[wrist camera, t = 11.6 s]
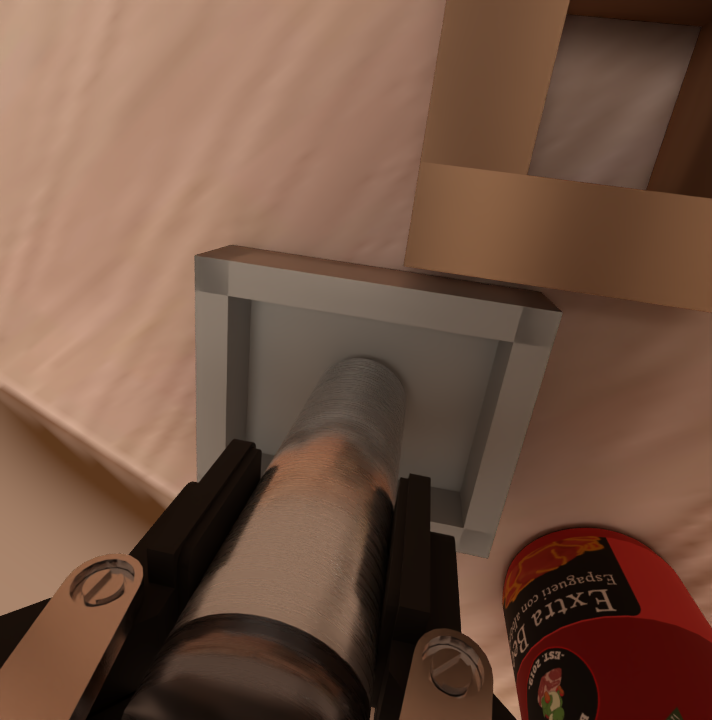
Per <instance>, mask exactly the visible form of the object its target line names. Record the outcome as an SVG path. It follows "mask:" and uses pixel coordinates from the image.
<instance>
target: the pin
mask: <svg viewBox="0 0 712 720" xmlns="http://www.w3.org/2000/svg"><path fill="white" fill-rule="evenodd" d="M406 406H407V400H406V394H405V390H404V388H403V386H402V384H401V382H400V380H399V379H398V377H397V376H396V375H395V374H394V373H393V372H392V371H391V370H390V369H388V368H387V367H385V366H384V365H382V364H380V363H378V362H375V361H373V360H369V359H362V358H353V359H347V360H343V361H340V362H338V363H336V364H334V365H332V366H331V367H330V368H328V369H327V370H326V371H325V372H324V373H323V375H322V376H321V378H320V379H319V381H318V383H317V384H316V386H315V388H314V390H313V391H312V393H311V395H310V396H309V398H308V400H307V401H306V403H305V405H304V407H303V408H302V410H301V412H300V413H299V415H298V417H297V418H296V420H295V422H294V423H293V425H292V427H291V429H290V430H289V432H288V434H287V435H286V437H285V439H284V440H283V442H282V444H281V446H280V447H279V449H278V451H277V452H276V454H275V456H274V457H273V459H272V461H271V462H270V464H269V466H268V468H267V469H266V471H265V473H264V474H263V476H262V478H261V479H260V481H259V483H258V485H257V486H256V488H255V490H254V491H253V493H252V495H251V496H250V498H249V500H248V501H247V503H246V505H245V507H244V508H243V510H242V512H241V513H240V515H239V517H238V518H237V520H236V522H235V524H234V525H233V527H232V529H231V530H230V532H229V534H228V535H227V537H226V539H225V540H224V542H223V544H222V546H221V547H220V549H219V551H218V552H217V554H216V556H215V557H214V559H213V561H212V562H211V564H210V566H209V568H208V569H207V571H206V573H205V574H204V576H203V578H202V579H201V581H200V583H199V585H198V586H197V588H196V590H195V591H194V593H193V595H192V596H191V598H190V600H189V601H188V603H187V605H186V607H185V608H184V610H183V612H182V613H181V615H180V617H179V618H178V620H177V622H176V624H175V625H174V627H173V629H172V630H171V632H170V634H169V635H168V637H167V639H166V640H165V642H164V644H163V646H162V647H161V649H160V651H159V652H158V654H157V656H156V657H155V659H154V661H153V663H152V664H151V666H150V668H149V669H148V671H147V673H146V674H145V676H144V678H143V679H142V681H141V683H140V685H139V686H138V688H137V690H136V691H135V693H134V695H133V696H132V698H131V700H130V702H129V703H128V705H127V707H126V708H125V711H124V713H123V715H122V718H121V720H370V711H371V703H372V695H373V686H374V678H375V669H376V661H377V648H378V640H379V631H380V623H381V614H382V606H383V598H384V589H385V581H386V572H387V564H388V556H389V547H390V539H391V530H392V522H393V514H394V508H395V500H396V491H397V483H398V474H399V466H400V457H401V449H402V440H403V432H404V423H405V415H406Z"/></svg>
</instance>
